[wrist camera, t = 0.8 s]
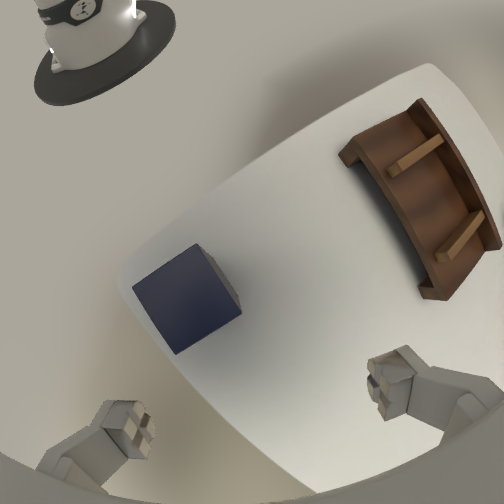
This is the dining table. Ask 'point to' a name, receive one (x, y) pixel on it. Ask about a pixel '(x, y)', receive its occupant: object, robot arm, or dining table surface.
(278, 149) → the dining table surface
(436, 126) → the wooden divided tray
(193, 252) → the navy block
